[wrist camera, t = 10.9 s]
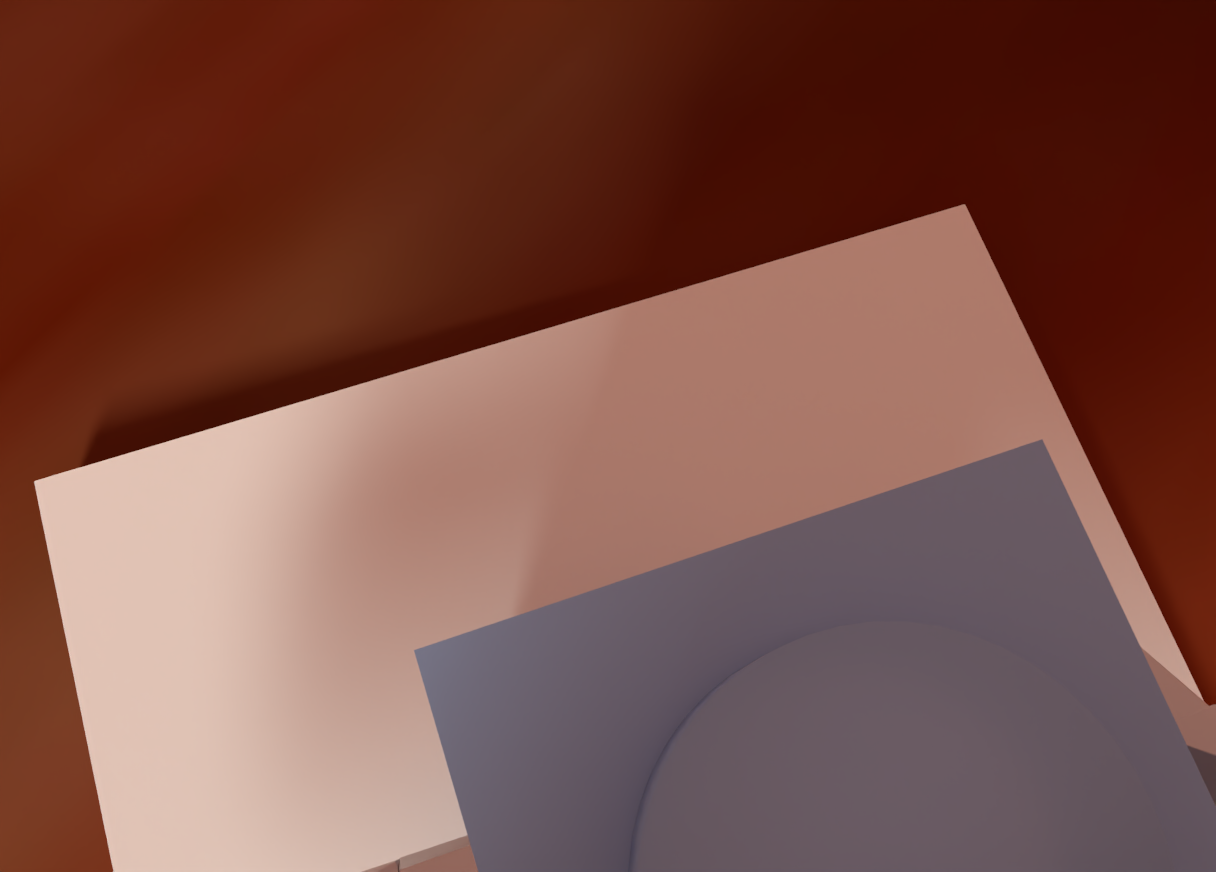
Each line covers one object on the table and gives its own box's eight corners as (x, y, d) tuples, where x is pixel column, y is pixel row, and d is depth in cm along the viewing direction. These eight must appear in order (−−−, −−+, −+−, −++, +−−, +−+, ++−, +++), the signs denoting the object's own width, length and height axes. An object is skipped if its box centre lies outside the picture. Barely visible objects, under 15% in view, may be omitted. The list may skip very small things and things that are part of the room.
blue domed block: (596, 1077, 14) (664, 1566, 5) (485, 712, 15) (397, 636, 7) (935, 941, 15) (1476, 1183, 6) (801, 602, 16) (1094, 404, 7)
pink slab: (313, 1667, 14) (77, 2552, 7) (67, 499, 18) (-233, 332, 11) (1382, 1172, 16) (2003, 1472, 9) (941, 236, 20) (1142, -39, 13)
